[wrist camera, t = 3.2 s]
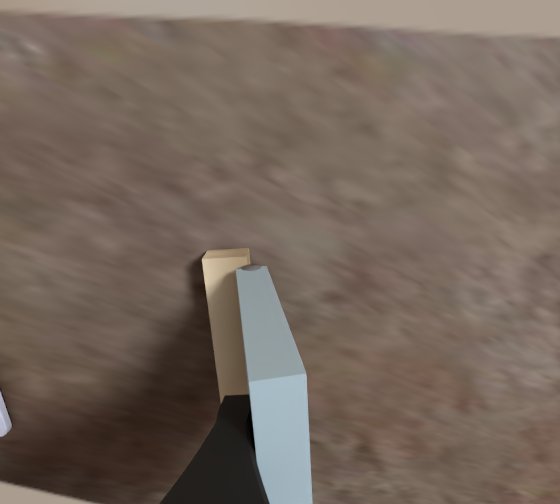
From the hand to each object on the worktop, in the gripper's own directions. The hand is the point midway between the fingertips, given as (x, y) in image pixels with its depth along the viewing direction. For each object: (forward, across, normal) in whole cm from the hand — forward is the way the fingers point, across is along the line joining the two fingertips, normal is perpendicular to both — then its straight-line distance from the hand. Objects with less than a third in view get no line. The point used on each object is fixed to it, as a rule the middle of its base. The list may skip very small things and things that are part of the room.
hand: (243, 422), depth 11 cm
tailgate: (+5, 0, 0) cm, 5 cm away
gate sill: (+6, +1, 0) cm, 6 cm away
